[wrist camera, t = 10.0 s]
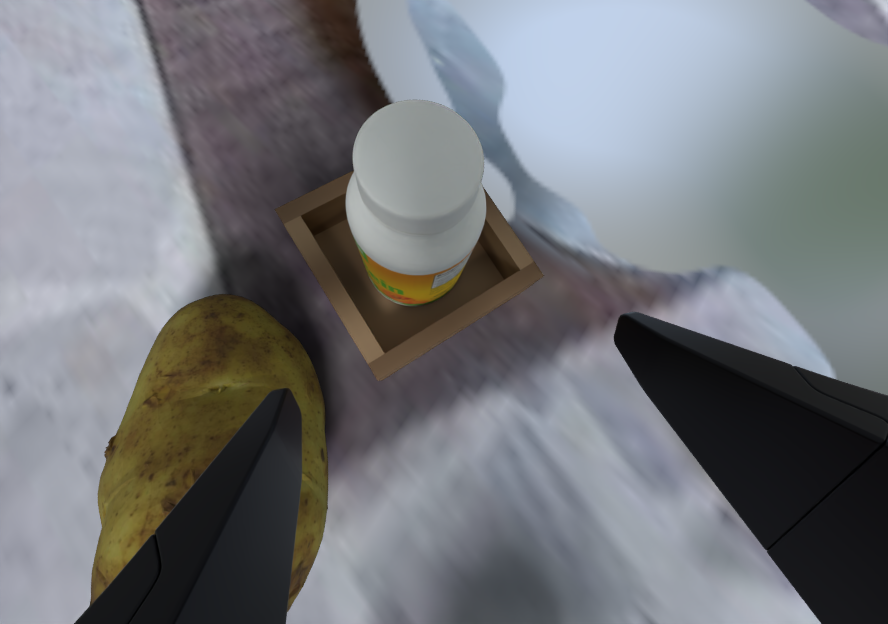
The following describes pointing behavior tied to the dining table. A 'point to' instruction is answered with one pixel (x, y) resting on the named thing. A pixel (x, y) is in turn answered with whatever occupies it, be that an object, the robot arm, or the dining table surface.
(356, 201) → the supplement bottle
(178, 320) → the potato
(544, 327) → the dining table surface
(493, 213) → the open wooden box
